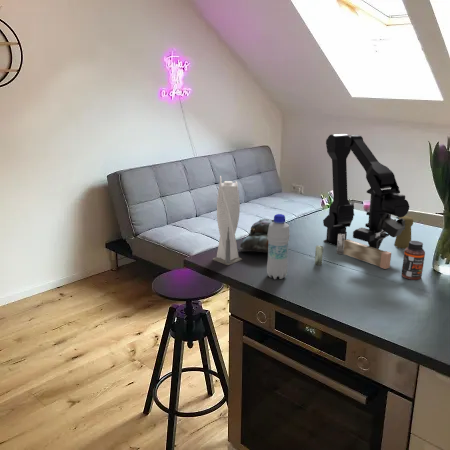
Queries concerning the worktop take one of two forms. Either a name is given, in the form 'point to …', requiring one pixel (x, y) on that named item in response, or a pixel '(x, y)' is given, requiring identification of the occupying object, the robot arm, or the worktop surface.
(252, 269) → the worktop surface
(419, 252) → the supplement bottle
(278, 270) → the bottle
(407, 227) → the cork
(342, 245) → the gate posts
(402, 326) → the worktop surface
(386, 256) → the light brown wooden plank
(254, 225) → the grey lumpy mass
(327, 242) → the robot arm
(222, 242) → the skyscraper
